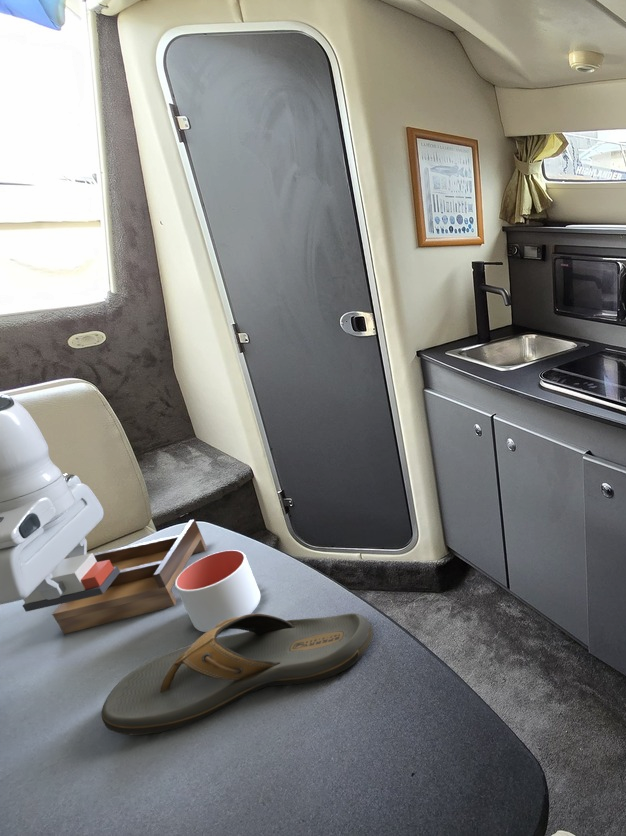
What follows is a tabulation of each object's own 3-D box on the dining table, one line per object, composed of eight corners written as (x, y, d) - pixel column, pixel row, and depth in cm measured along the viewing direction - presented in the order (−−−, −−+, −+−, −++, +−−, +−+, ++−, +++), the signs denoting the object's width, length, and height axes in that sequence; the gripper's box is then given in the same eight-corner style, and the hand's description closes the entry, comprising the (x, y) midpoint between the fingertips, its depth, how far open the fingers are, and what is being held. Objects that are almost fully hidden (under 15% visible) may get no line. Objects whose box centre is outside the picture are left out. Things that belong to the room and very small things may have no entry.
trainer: (25, 612, 71) (5, 578, 69) (48, 587, 76) (29, 555, 73) (103, 594, 74) (85, 561, 72) (120, 572, 78) (104, 540, 76)
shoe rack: (65, 636, 85) (43, 600, 83) (115, 571, 100) (98, 539, 97) (175, 607, 90) (159, 573, 87) (208, 549, 105) (195, 519, 102)
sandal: (154, 663, 80) (131, 620, 76) (380, 615, 87) (368, 573, 83) (95, 752, 67) (64, 705, 63) (365, 687, 74) (350, 641, 71)
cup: (209, 600, 92) (190, 557, 88) (269, 586, 94) (253, 544, 91) (184, 643, 83) (162, 597, 79) (252, 626, 86) (233, 582, 82)
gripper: (46, 472, 77) (83, 543, 82) (-65, 556, 59) (-9, 641, 64) (96, 464, 79) (129, 534, 84) (3, 543, 61) (53, 626, 66)
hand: (69, 581), depth 74 cm, fingers closed on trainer, 4 cm apart
